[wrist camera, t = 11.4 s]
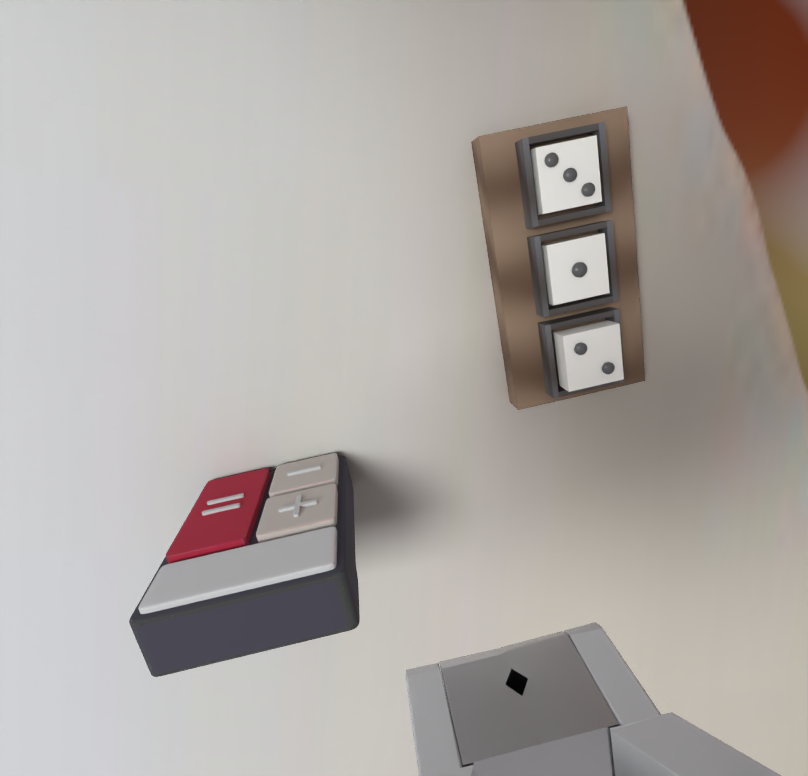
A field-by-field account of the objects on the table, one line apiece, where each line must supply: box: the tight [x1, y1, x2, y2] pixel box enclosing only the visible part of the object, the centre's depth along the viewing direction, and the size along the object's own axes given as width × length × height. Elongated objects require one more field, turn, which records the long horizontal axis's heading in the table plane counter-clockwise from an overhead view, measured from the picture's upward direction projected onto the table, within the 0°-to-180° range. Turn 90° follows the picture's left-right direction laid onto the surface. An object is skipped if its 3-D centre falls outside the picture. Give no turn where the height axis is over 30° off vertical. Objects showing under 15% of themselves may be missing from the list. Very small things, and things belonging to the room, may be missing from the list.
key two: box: [554, 320, 624, 392], centre depth 36 cm, size 4×4×2 cm
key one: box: [541, 233, 610, 305], centre depth 35 cm, size 4×4×2 cm
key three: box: [530, 135, 602, 215], centre depth 33 cm, size 4×4×2 cm
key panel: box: [471, 106, 645, 410], centre depth 36 cm, size 19×10×3 cm, turn 12°
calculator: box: [129, 453, 359, 677], centre depth 33 cm, size 11×4×15 cm, turn 101°
